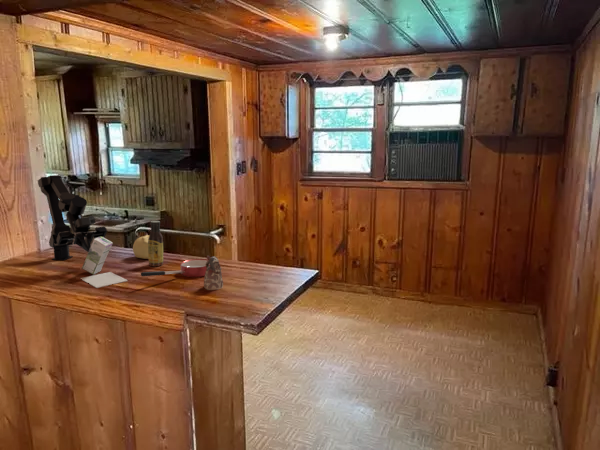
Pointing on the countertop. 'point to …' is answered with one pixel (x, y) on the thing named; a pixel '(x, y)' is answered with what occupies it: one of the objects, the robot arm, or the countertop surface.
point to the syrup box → (97, 255)
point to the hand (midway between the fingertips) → (89, 251)
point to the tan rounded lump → (141, 247)
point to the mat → (103, 279)
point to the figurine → (213, 274)
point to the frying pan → (185, 269)
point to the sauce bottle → (155, 245)
